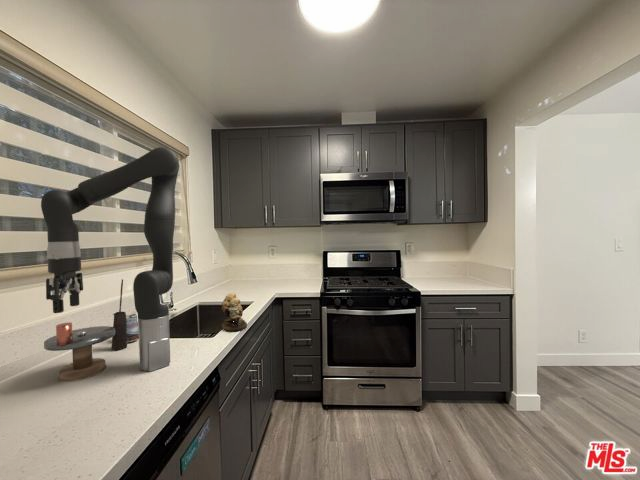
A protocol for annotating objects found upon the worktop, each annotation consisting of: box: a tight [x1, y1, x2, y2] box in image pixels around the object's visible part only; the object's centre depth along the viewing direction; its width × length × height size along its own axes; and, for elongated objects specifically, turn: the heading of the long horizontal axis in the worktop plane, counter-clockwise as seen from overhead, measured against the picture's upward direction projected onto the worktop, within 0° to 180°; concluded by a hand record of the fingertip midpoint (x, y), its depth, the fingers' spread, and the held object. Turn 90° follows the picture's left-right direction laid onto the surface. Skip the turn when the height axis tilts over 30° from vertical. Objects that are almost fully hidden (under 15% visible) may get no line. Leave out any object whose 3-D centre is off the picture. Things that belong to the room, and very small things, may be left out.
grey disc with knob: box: [43, 322, 115, 352], centre depth 92 cm, size 18×18×8 cm
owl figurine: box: [221, 292, 248, 332], centre depth 136 cm, size 18×12×17 cm, turn 29°
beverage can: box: [126, 312, 139, 343], centre depth 120 cm, size 6×7×12 cm
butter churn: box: [110, 279, 128, 352], centre depth 111 cm, size 9×10×28 cm
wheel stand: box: [57, 345, 107, 382], centre depth 93 cm, size 12×12×11 cm
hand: (67, 309), depth 85 cm, fingers open, 8 cm apart
